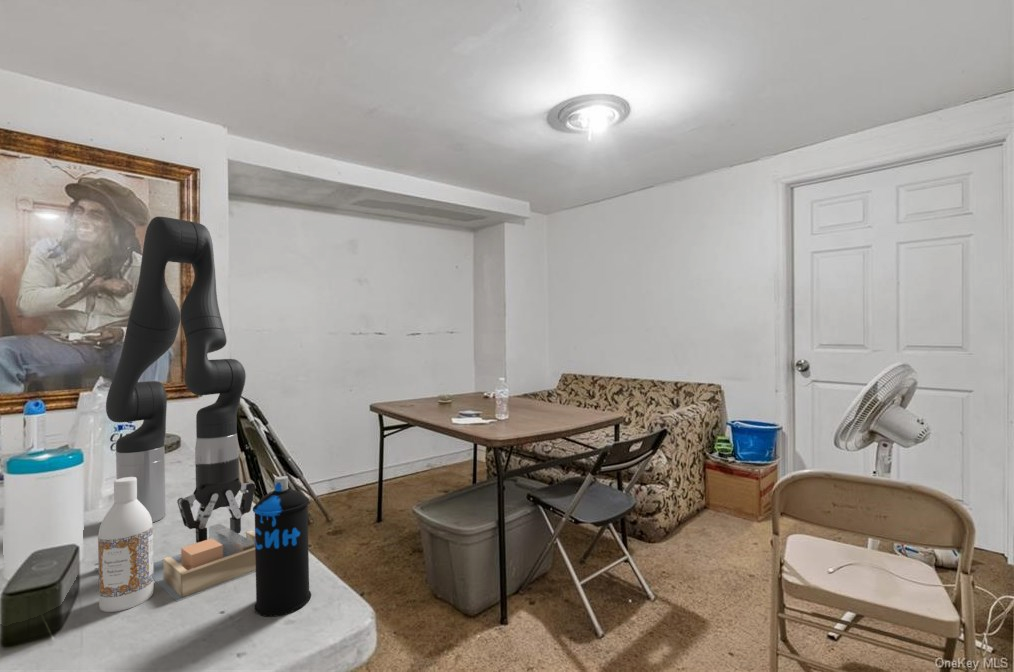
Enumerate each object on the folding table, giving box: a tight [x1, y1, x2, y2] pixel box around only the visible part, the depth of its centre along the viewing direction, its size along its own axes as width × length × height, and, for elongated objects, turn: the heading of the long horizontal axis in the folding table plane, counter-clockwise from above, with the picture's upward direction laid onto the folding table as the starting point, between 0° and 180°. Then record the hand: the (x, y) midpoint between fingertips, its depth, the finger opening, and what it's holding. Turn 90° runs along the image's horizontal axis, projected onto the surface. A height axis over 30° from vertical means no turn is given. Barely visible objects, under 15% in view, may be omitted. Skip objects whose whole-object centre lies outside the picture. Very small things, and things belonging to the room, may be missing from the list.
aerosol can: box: [252, 475, 312, 617], centre depth 76 cm, size 8×8×20 cm
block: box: [180, 538, 223, 570], centre depth 85 cm, size 5×5×5 cm
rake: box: [192, 523, 254, 569], centre depth 89 cm, size 16×10×4 cm, turn 51°
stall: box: [162, 530, 256, 598], centre depth 86 cm, size 10×15×4 cm, turn 141°
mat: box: [153, 553, 256, 603], centre depth 89 cm, size 20×17×1 cm
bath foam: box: [97, 477, 155, 613], centre depth 77 cm, size 7×7×20 cm
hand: (218, 540), depth 96 cm, fingers open, 5 cm apart
